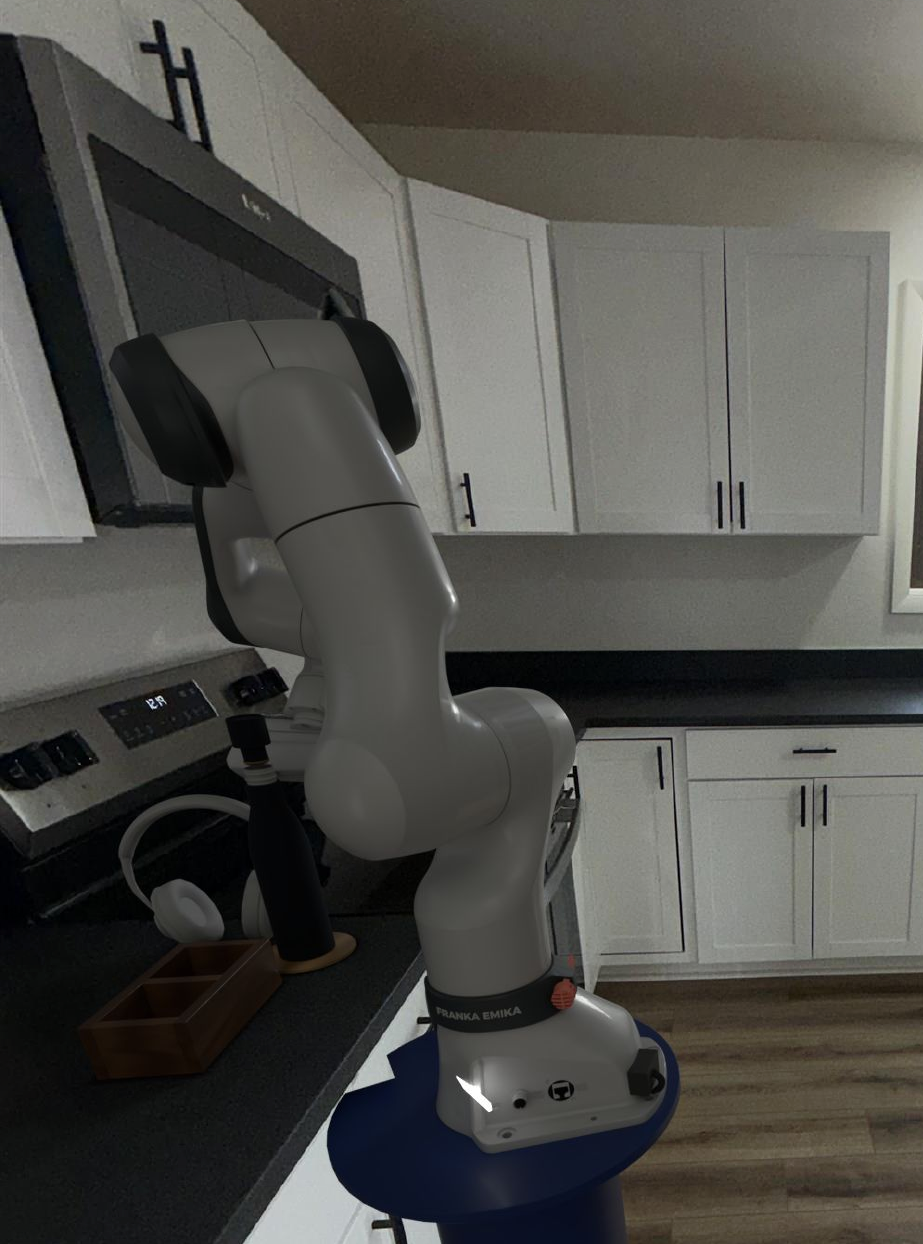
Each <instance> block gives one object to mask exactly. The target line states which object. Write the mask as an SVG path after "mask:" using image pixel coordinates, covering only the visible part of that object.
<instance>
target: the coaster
mask: <svg viewBox="0 0 923 1244" xmlns="http://www.w3.org/2000/svg"><path fill="white" fill-rule="evenodd" d="M332 932H333V936H334V939H335V947H334V949H333V950H332V951H330V952H329V953H327V954H325V955H323V956H321V957H318V958H315V959H312V960H306V961H297V962H292V961H286V960H283V959H281V957H280V956H279V953H278V949H277V946H276V944H274V945H272V948H273V952H274V955H275V959H276V962H277V966H278V969H279V972H280V975H281V974H282V975H288V974H289V975H291V974H300V973H307V972H312V971H316V970H320V969H324V968H326V967H330V966H332V965H334V964H337V963H339V962H341V961H342V960H344V959H346V958H347V957H349V956H350V955H351V954H352V953H353V952H354V951H355V949H356V947H357V941H356V938H354V936H352V935H350V934H349V933H345V932H340V931H332Z"/></svg>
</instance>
